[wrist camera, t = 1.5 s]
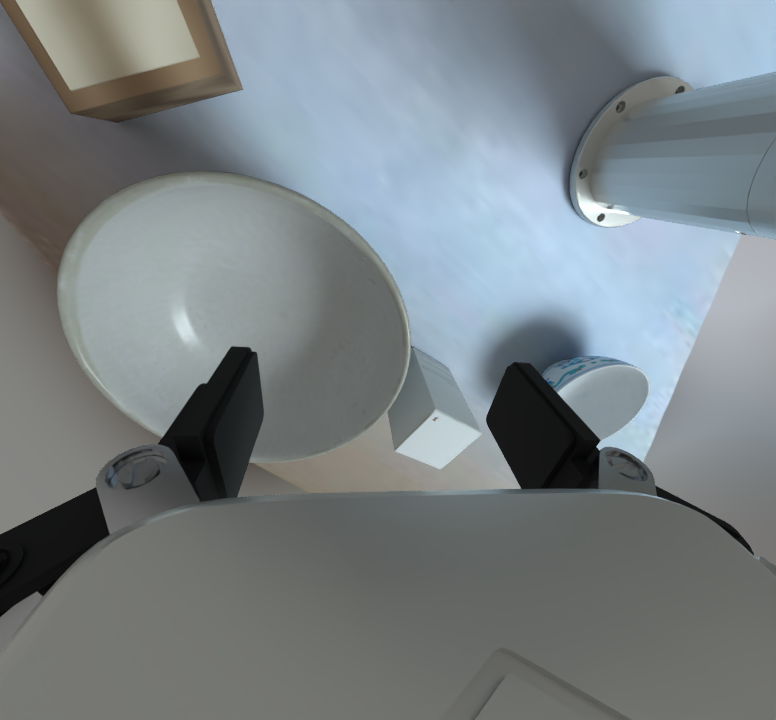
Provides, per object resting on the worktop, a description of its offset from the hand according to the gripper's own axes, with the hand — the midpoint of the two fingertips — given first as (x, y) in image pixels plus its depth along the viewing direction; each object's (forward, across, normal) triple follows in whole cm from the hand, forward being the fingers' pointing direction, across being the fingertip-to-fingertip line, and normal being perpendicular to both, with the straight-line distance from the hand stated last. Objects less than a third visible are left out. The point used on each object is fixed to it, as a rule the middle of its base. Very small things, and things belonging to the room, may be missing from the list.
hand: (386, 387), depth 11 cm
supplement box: (+26, -9, +17) cm, 32 cm away
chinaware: (+26, -32, +16) cm, 45 cm away
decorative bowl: (+26, +9, +8) cm, 28 cm away
